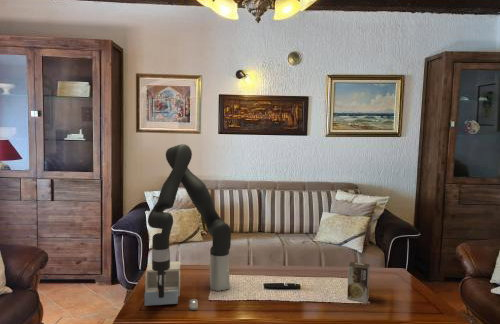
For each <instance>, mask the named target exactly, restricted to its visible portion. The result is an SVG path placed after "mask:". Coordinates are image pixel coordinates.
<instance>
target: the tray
mask: <svg viewBox="0 0 500 324" xmlns="http://www.w3.org/2000/svg"><path fill="white" fill-rule="evenodd" d="M164 289H167V290H168V291H164V297H163V298H159V291H157V290H158V288H148V289H147V292H144V306H162V305H175V304H176V305H177V304H178V303H179V301H178V300H179V296H178V287H164ZM156 291H157V292H156Z"/></svg>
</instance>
